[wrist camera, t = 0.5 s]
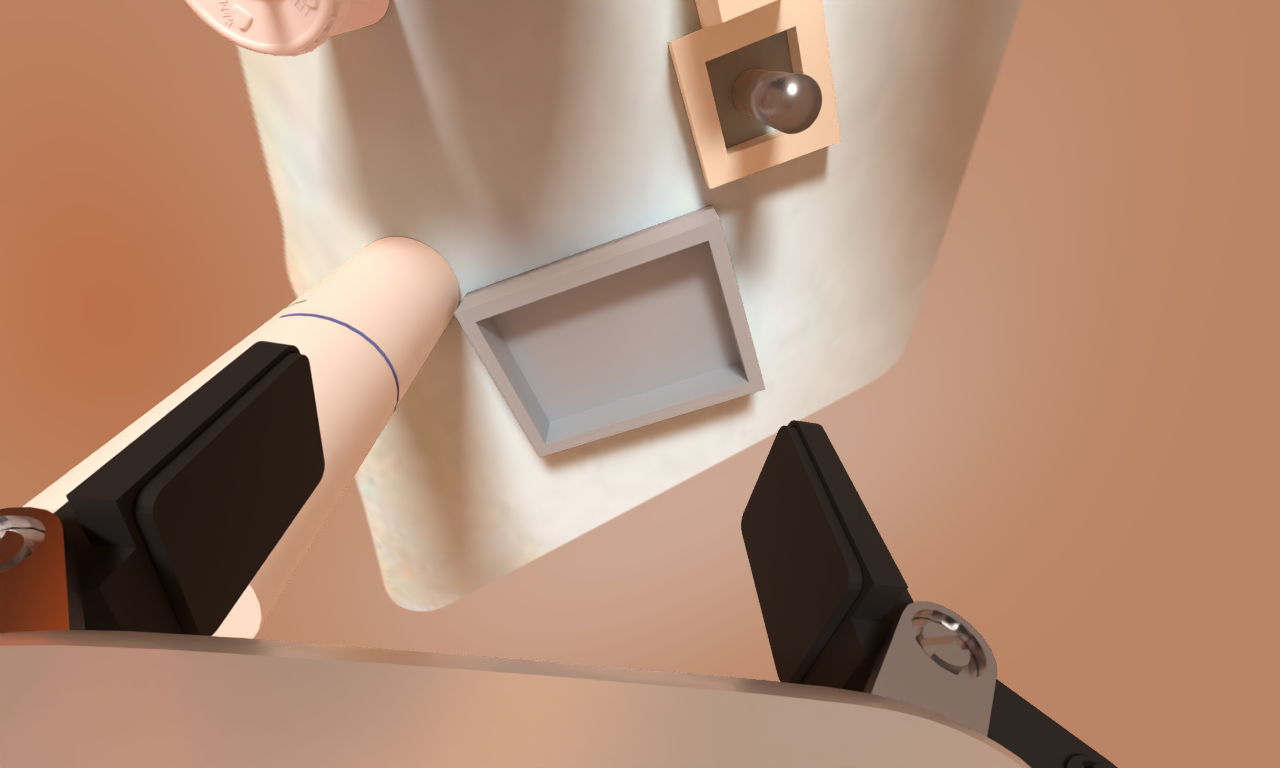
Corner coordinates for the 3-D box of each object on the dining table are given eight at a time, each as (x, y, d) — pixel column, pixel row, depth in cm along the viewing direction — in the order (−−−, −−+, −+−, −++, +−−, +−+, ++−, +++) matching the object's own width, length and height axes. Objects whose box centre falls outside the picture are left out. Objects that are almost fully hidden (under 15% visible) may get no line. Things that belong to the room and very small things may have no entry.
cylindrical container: (467, 332, 39) (294, 659, 18) (368, 334, 39) (72, 669, 17) (449, 235, 35) (202, 502, 14) (339, 237, 35) (-83, 512, 14)
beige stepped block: (792, -122, 26) (843, -172, 20) (829, 136, 33) (875, 155, 27) (641, -55, 28) (648, -84, 22) (705, 182, 34) (723, 210, 28)
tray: (711, 205, 35) (720, 219, 32) (754, 365, 41) (765, 389, 38) (466, 293, 37) (453, 313, 34) (544, 430, 44) (539, 457, 41)
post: (768, 61, 31) (817, 65, 23) (776, 106, 32) (825, 122, 24) (727, 77, 31) (763, 86, 23) (737, 120, 32) (774, 142, 24)
